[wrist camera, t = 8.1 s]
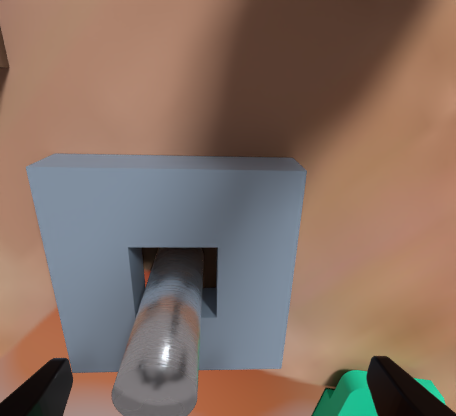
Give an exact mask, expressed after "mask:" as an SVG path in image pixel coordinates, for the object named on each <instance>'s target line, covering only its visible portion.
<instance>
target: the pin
mask: <svg viewBox="0 0 456 416" xmlns="http://www.w3.org/2000/svg"><path fill="white" fill-rule="evenodd" d="M203 268H204V254H203V251H202V249H201V247H159V249H158V251H157V254H156V257H155V260H154V263H153V266H152V270H151V273H150V276H149V279H148V282H147V285H146V288H145V291H144V294H143V297H142V300H141V303H140V306H139V310H138V313H137V316H136V319H135V322H134V325H133V328H132V331H131V334H130V337H129V340H128V343H127V346H126V349H125V353H124V356H123V359H122V362H121V365H120V368H119V371H118V374H117V377H116V381H115V383H114V386H113V390H112V401H113V404H114V406H115V407H116V409H117V410H118V411H119V412H120V413H121V414H122V415H123V416H187V415H188V414H189V413H190V412H191V411H192V410H193V408H194V407H195V405H196V402H197V389H198V370H199V350H200V329H201V309H202V288H203Z"/></svg>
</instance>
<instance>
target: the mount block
mask: <svg viewBox="0 0 456 416" xmlns="http://www.w3.org/2000/svg"><path fill="white" fill-rule="evenodd" d="M0 67H6V68H9V64H8V60H7V55H6V51H5V46H4V42H3V37H2V33H1V28H0Z"/></svg>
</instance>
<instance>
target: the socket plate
mask: <svg viewBox="0 0 456 416" xmlns="http://www.w3.org/2000/svg"><path fill="white" fill-rule="evenodd" d="M26 170H27V175H28V179H29V183H30V188H31V192H32V197H33V201H34V205H35V210H36V214H37V219H38V223H39V227H40V232H41V236H42V241H43V245H44V249H45V254H46V258H47V263H48V267H49V271H50V276H51V280H52V285H53V289H54V293H55V298H56V302H57V307H58V311H59V315H60V320H61V324H62V329H63V333H64V337H65V341H66V346H67V351H68V355H69V360H70V363H71V368H72V373H81V372H82V373H83V372H84V373H85V372H118V371H119V368H120V365H121V362H122V359H123V356H124V353H125V349H126V346H127V343H128V340H129V337H130V334H131V331H132V328H133V325H134V322H135V319H136V316H137V313H138V310H139V306H140V303H141V300H142V297H143V294H144V291H145V279H144V267H143V256H142V247H217V272H216V288H202V309H201V329H200V350H199V370H235V369H281V367H282V359H283V351H284V344H285V336H286V328H287V320H288V313H289V305H290V297H291V290H292V282H293V274H294V266H295V259H296V251H297V243H298V236H299V228H300V220H301V212H302V205H303V197H304V189H305V182H306V174H307V171H306V170H305V169H304V168H303V167H302V166H301V165H300V164H299V163H298V162H297V161H296V160H295V159H294V158H278V157H221V156H164V155H106V154H53V155H51V156H48V157H46V158H44V159H42V160H40V161H37V162H35V163H33V164H31V165H29V166H26Z"/></svg>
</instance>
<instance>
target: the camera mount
mask: <svg viewBox="0 0 456 416" xmlns="http://www.w3.org/2000/svg"><path fill="white" fill-rule="evenodd" d="M366 376H367V371H360V370H352V371H349V372H347V373H345V374H344V375H343V376H342V377H341V379H340V381H339V383H338V385H337V387H336V389H335V388H327V387H325V389H324V391H323V393H322V395H321V397H320V399H319V401H318V403H317V405H316V407H315V409H314V411H313V413H312V415H311V416H378V415H377V412H376V409H375V406H374V403H373V400H372V396H371V393H370V390H369V387H368V384H367V379H366ZM414 379H415V380H416V381H417V382H419V383H420V384H421V385H422V386H423V387H425V388H426V389H427V390H428V391H429V392H431V393H432V394H433V395H434V396H435V397H437V398H438V399H439V400H440V401H441V402H443V403H444V404H445V401H444V398H443V396H442V395H441V394H440V392H439V391H438V390H437V388H436V387H435V386H434V384H433V383H432V381H431V380H424V379H417V378H414Z"/></svg>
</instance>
